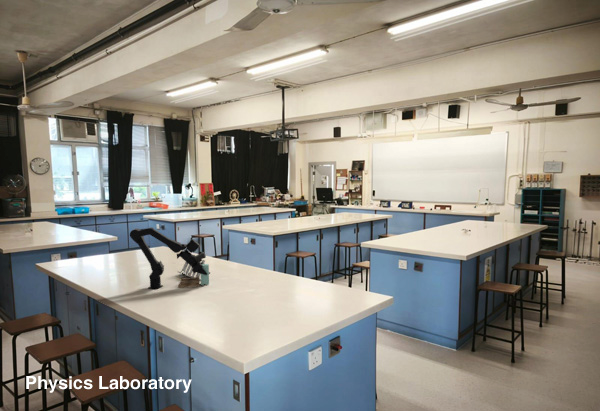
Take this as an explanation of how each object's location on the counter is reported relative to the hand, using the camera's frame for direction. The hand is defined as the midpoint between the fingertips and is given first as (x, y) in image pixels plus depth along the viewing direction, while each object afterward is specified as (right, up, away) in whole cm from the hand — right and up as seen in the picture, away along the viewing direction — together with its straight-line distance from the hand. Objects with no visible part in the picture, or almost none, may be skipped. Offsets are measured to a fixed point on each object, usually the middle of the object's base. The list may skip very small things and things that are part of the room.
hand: (207, 273), depth 222 cm
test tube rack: (-16, -5, +15) cm, 22 cm away
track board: (-11, -7, -2) cm, 13 cm away
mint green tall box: (-1, -7, 0) cm, 7 cm away
